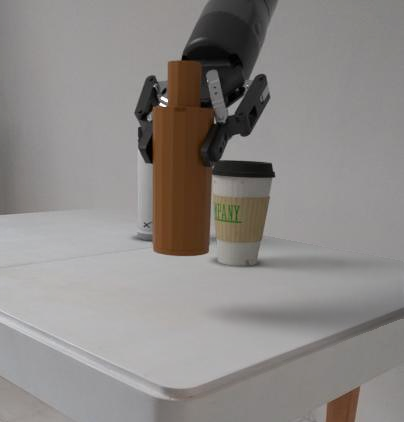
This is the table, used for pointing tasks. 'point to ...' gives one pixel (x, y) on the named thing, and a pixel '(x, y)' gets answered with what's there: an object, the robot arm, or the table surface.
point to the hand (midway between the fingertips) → (175, 158)
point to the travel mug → (145, 196)
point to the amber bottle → (181, 166)
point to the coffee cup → (240, 209)
